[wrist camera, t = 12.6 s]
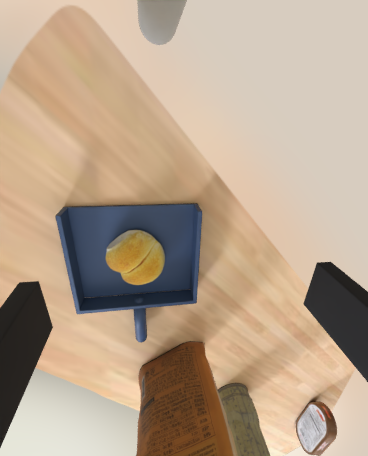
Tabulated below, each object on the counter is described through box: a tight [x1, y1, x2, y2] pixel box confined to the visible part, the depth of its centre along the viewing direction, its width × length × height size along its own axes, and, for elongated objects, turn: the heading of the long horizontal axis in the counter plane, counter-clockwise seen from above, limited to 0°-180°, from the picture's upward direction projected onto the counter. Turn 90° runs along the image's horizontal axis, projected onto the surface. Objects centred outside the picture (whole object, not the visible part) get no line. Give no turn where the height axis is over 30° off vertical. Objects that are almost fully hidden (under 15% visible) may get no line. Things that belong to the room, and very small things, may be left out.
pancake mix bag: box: [136, 342, 238, 456], centre depth 37 cm, size 7×19×28 cm, turn 121°
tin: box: [296, 402, 337, 456], centre depth 64 cm, size 15×3×8 cm, turn 166°
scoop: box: [56, 204, 202, 342], centre depth 38 cm, size 26×19×4 cm
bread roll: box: [106, 230, 165, 285], centre depth 36 cm, size 8×9×4 cm
